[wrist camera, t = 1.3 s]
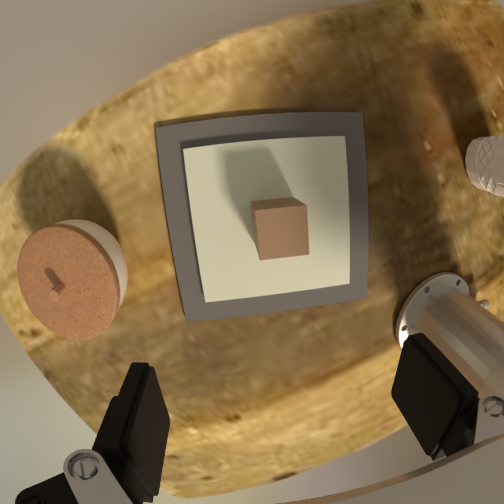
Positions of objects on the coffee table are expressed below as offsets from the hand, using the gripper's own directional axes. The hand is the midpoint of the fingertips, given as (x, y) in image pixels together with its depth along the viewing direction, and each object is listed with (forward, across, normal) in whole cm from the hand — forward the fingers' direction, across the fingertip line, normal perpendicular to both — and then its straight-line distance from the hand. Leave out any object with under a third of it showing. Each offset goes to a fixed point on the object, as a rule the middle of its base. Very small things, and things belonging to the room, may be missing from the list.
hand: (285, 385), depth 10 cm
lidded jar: (+21, +17, +1) cm, 27 cm away
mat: (+21, -2, -2) cm, 21 cm away
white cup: (+22, -30, -8) cm, 38 cm away
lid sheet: (+20, -2, -2) cm, 21 cm away
